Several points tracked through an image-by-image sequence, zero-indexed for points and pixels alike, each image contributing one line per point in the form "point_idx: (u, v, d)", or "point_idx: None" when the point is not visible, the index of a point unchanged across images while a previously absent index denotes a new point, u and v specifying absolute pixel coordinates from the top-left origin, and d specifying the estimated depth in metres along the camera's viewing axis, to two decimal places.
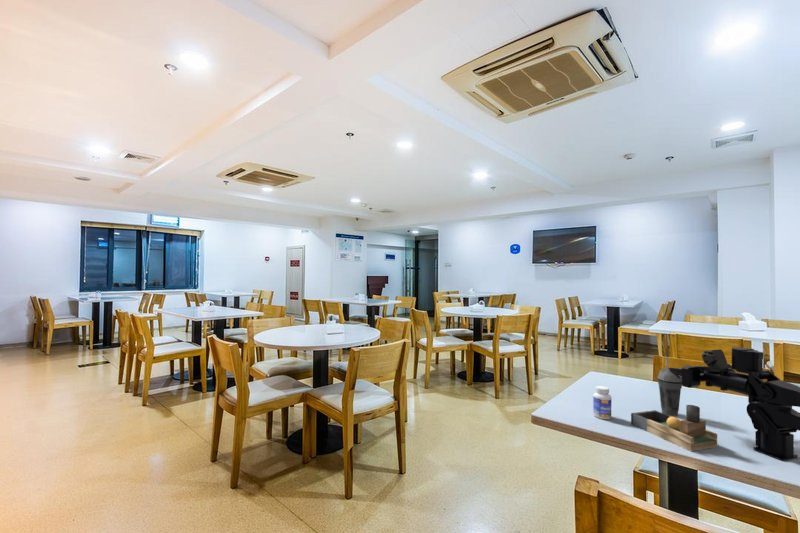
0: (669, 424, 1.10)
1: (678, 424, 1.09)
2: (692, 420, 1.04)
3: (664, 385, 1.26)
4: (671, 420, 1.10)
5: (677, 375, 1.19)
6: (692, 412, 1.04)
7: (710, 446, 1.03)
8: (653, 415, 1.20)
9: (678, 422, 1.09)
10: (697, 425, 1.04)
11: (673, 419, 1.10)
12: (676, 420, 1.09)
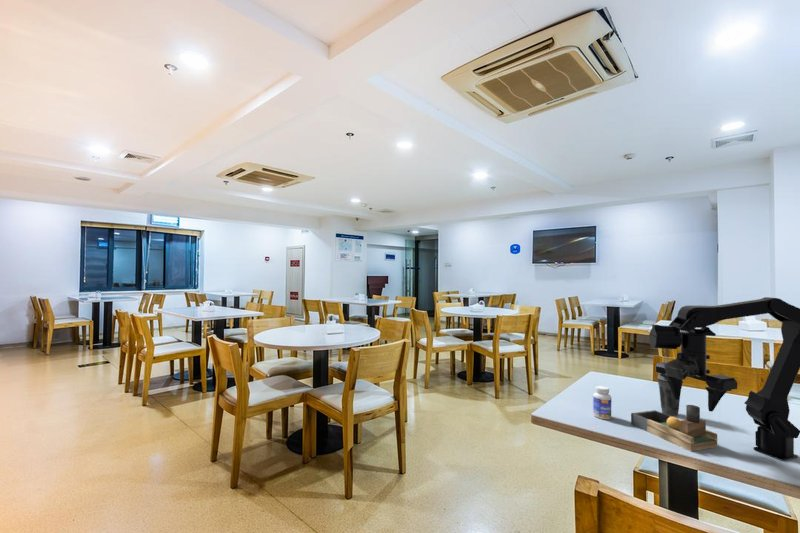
0: (669, 424, 1.10)
1: (678, 424, 1.09)
2: (692, 420, 1.04)
3: (664, 385, 1.26)
4: (671, 420, 1.10)
5: (718, 400, 1.00)
6: (692, 412, 1.04)
7: (710, 446, 1.03)
8: (653, 415, 1.20)
9: (678, 422, 1.09)
10: (697, 425, 1.04)
11: (673, 419, 1.10)
12: (676, 420, 1.09)
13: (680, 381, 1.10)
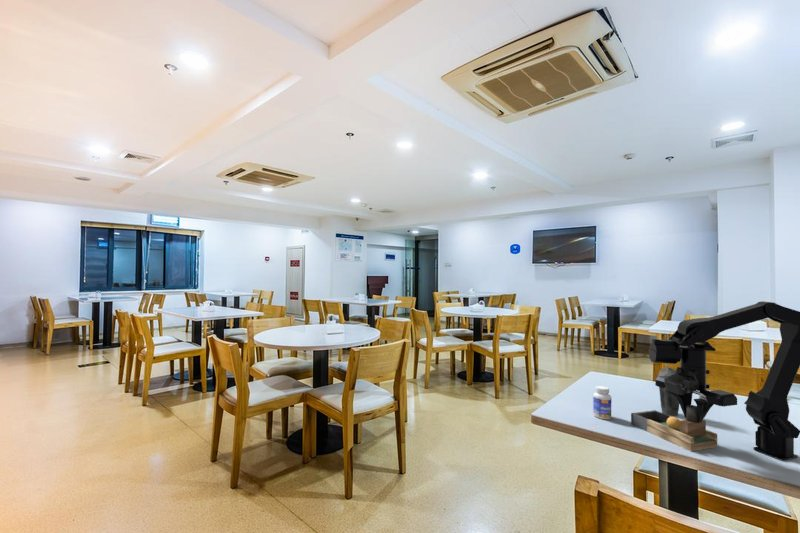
0: (669, 424, 1.10)
1: (678, 424, 1.09)
2: (692, 420, 1.04)
3: None
4: (671, 420, 1.10)
5: (706, 411, 1.03)
6: (692, 412, 1.04)
7: (710, 446, 1.03)
8: (653, 415, 1.20)
9: (678, 422, 1.09)
10: (697, 425, 1.04)
11: (673, 419, 1.10)
12: (676, 420, 1.09)
13: (690, 398, 1.07)
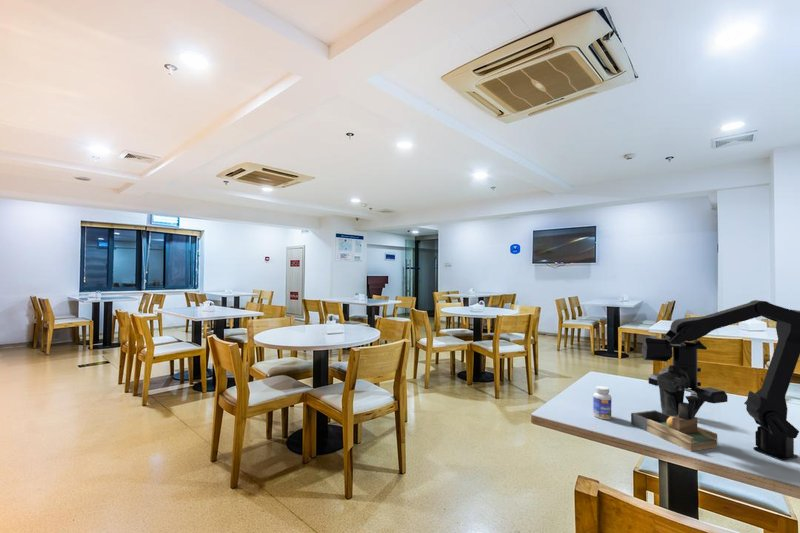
0: (669, 424, 1.10)
1: None
2: (684, 417, 1.06)
3: None
4: (671, 420, 1.10)
5: (697, 408, 1.05)
6: (684, 409, 1.06)
7: (710, 446, 1.03)
8: (653, 415, 1.20)
9: None
10: (688, 422, 1.06)
11: None
12: None
13: (682, 396, 1.10)
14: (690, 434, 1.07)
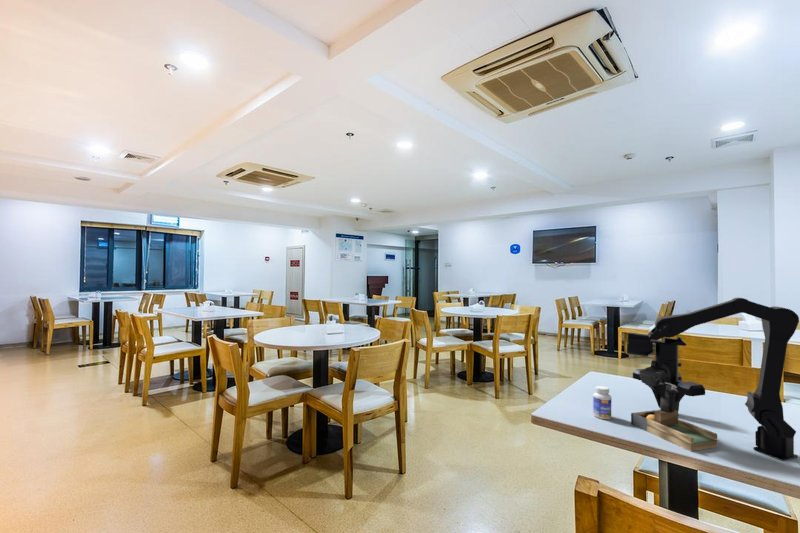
0: None
1: None
2: (665, 410, 1.11)
3: None
4: None
5: (678, 401, 1.10)
6: (665, 403, 1.11)
7: (710, 446, 1.03)
8: None
9: None
10: (670, 415, 1.12)
11: None
12: None
13: (664, 390, 1.15)
14: (690, 434, 1.07)
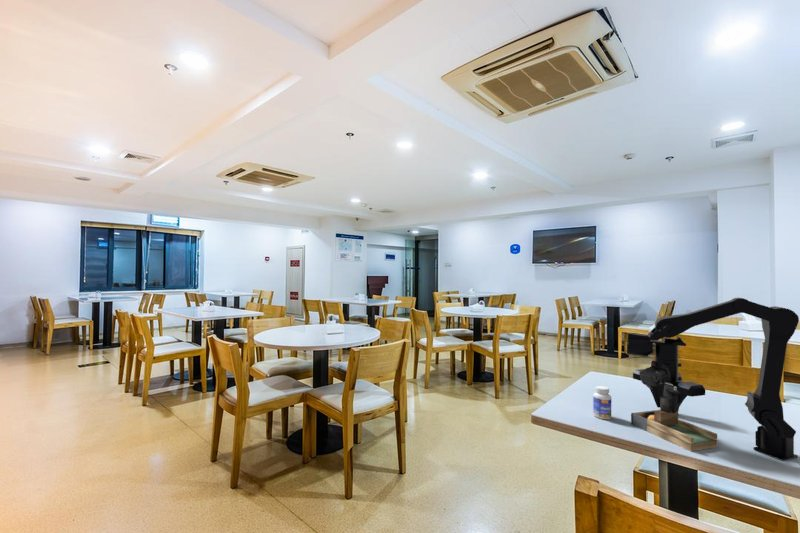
0: None
1: None
2: (665, 410, 1.11)
3: (664, 385, 1.26)
4: None
5: (680, 402, 1.09)
6: (665, 403, 1.11)
7: (710, 446, 1.03)
8: None
9: None
10: (670, 415, 1.12)
11: None
12: None
13: (662, 389, 1.16)
14: (690, 434, 1.07)
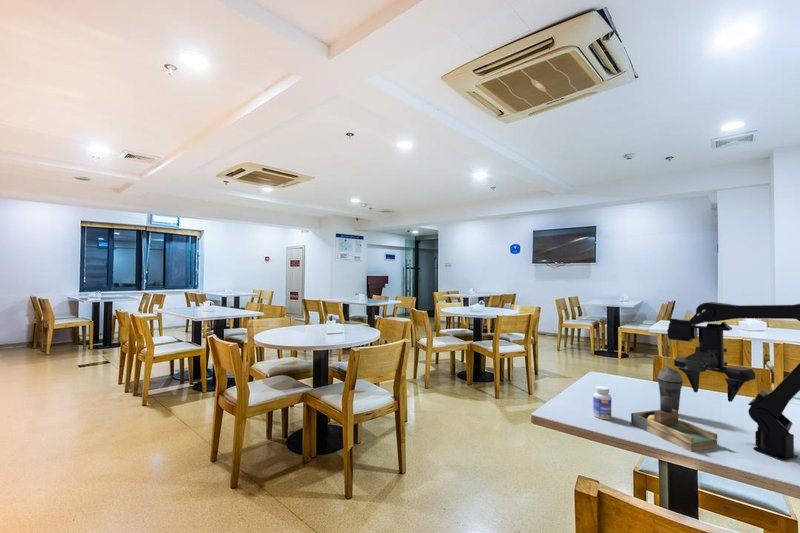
0: None
1: None
2: (665, 410, 1.11)
3: (664, 385, 1.26)
4: None
5: (737, 390, 1.05)
6: (665, 403, 1.11)
7: (710, 446, 1.03)
8: None
9: None
10: (670, 415, 1.12)
11: None
12: None
13: (698, 374, 1.16)
14: (690, 434, 1.07)
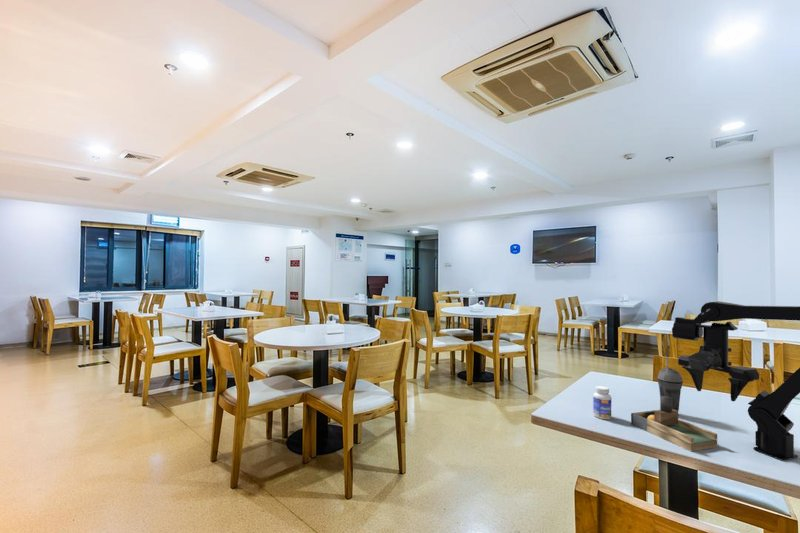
0: None
1: None
2: (665, 410, 1.11)
3: (664, 385, 1.26)
4: None
5: (740, 390, 1.05)
6: (665, 403, 1.11)
7: (710, 446, 1.03)
8: None
9: None
10: (670, 415, 1.12)
11: None
12: None
13: (702, 373, 1.16)
14: (690, 434, 1.07)
